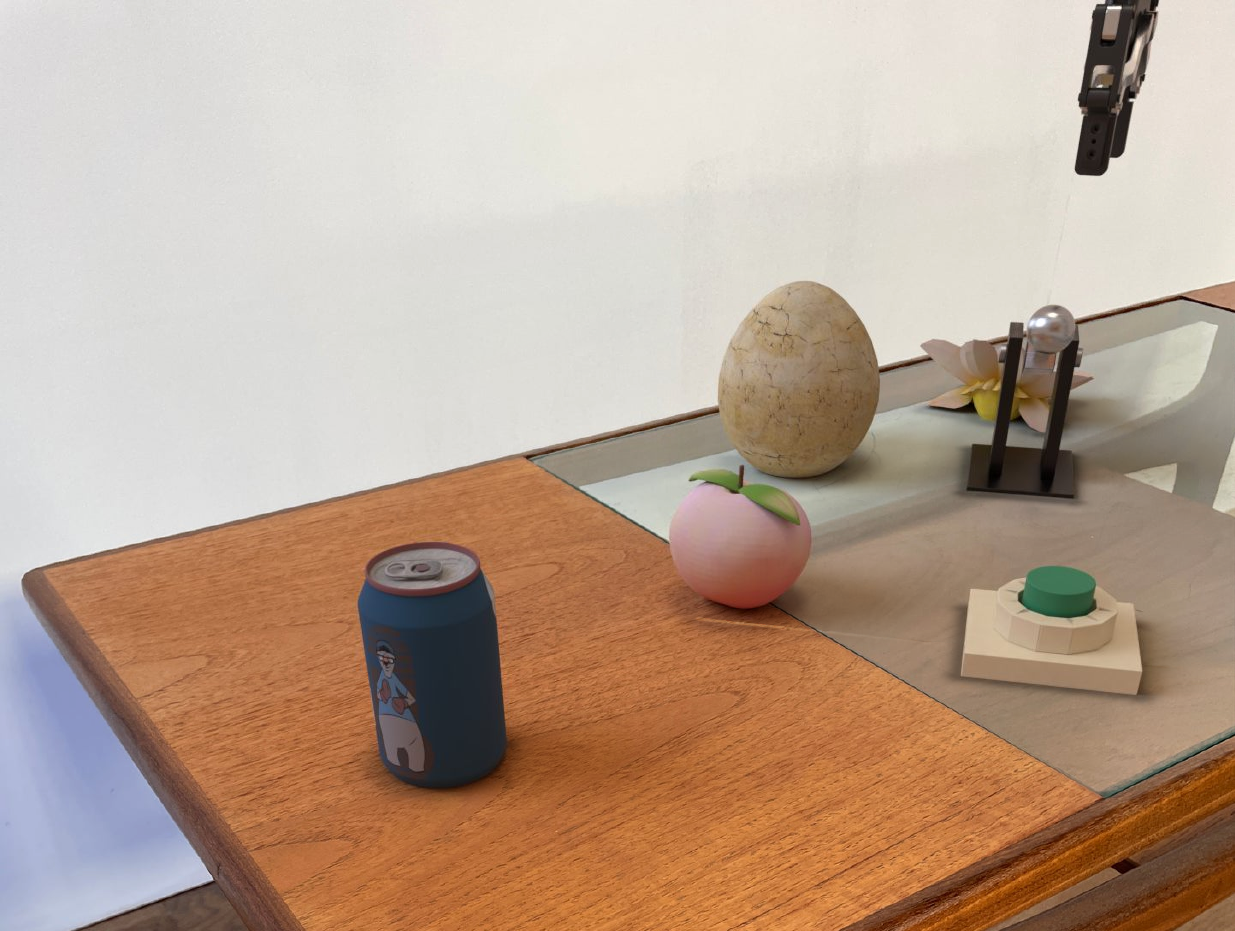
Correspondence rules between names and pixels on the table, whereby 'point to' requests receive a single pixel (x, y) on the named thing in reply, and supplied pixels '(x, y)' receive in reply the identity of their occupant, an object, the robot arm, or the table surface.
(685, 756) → the table surface
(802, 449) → the fossilized egg
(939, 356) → the decorative flower
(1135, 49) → the robot arm
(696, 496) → the decorative fruit
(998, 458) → the black metal frame
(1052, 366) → the tap lever
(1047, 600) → the green push button
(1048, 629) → the button block
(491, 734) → the soda can
